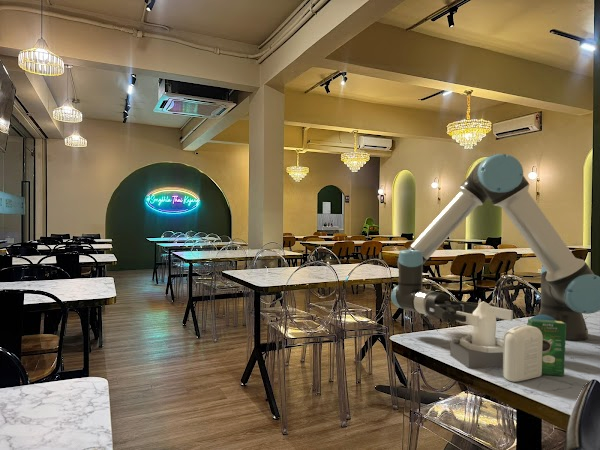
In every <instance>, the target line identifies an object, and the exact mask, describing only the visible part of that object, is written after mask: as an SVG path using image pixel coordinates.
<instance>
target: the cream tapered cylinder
mask: <svg viewBox="0 0 600 450" xmlns="http://www.w3.org/2000/svg"><path fill="white" fill-rule="evenodd" d="M478 303H479V304H478V307H477V308H476V309H475V310H474V312H473V315H477V316H479V327H475V326H471V336H472V344H475V345H481V346H486V347H493V346H496V344H495V340H496V338H497V337H496V335H497V334H496V333H497V318H496V314H495V312H494V310H493V309H492V308H491V305H489V303H487V302H486V301H481V302H478Z"/></svg>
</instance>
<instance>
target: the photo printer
mask: <svg viewBox="0 0 600 450" xmlns="http://www.w3.org/2000/svg"><path fill="white" fill-rule="evenodd" d="M503 340H504V345H503V367H502V376H503V378H504V379H505V380H507V381H510V382H514V383H515V382H522V381H526V380H530V379H531V380H532V379H535V378H538V377H542V375H543V374H542V343H543V335H542V332H541V331H540V329H538V328H537V327H533V326H529V325H527V324H524V325H523V324H521V325H517V326H514V327H512V328H510V329H508V330H507V331H506V332H505V333H504V335H503Z"/></svg>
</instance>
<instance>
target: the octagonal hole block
mask: <svg viewBox="0 0 600 450" xmlns="http://www.w3.org/2000/svg"><path fill="white" fill-rule="evenodd" d="M495 344H496V346H493V347H486V346H481V345H475V344H472V335H465V336H464V335H463V337H461V338H456V337H455V338H451V341H450V345H449V347H450V349H449V350H450V352H449V353H450V357H452V358H453V359H454V360H456V361H458V362H459V363H460V364H462V365H463V366H465V367H466V368H468V369H483V368H486V369H487V368H489V369H490V368H503V345H504V339H501V338H498V337H496V340H495Z"/></svg>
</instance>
